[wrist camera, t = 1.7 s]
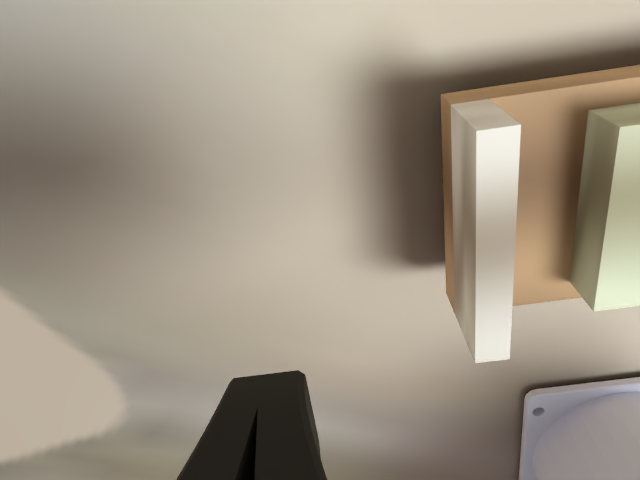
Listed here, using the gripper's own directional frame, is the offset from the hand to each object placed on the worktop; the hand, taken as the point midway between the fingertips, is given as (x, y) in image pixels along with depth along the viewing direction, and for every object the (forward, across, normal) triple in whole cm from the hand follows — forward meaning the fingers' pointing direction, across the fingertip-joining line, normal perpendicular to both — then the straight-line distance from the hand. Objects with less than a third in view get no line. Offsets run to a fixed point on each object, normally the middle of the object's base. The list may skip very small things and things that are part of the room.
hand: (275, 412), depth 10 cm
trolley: (+9, -10, 0) cm, 13 cm away
